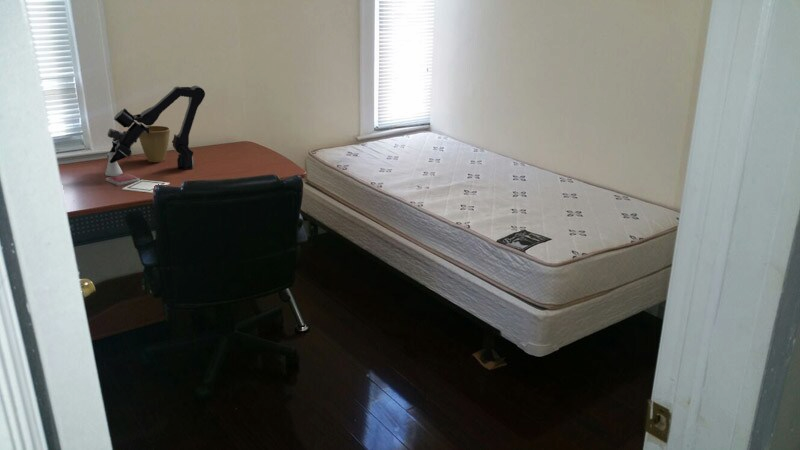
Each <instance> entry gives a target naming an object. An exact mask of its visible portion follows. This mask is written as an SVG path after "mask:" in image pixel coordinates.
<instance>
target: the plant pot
mask: <svg viewBox="0 0 800 450" xmlns="http://www.w3.org/2000/svg"><path fill="white" fill-rule="evenodd" d="M144 126H145V127H149V134H148V133H147V132H145V131H144V133H143V134H142V135H141V136H140V137H139V138H138V139H139V142H140V145H141V148H142V150H143V153H144V155H145V157H146V160H147V161H148V162H149V163H162V162H164V161H165V158H166V156H167V152H168V147H169V141H170V134H171V133H170V132H171V127H169V126H164V125H151V126H147V125H144Z"/></svg>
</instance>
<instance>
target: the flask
mask: <svg viewBox="0 0 800 450" xmlns="http://www.w3.org/2000/svg"><path fill="white" fill-rule="evenodd" d="M109 152H110V151H109ZM109 152H108V153H107V156H109V158H108V161H107V166H106V169H105V173H104V176H107V177H108V176H109V177H114V176H118V175H123V171H122V168H121V167H120V165H119V163H118V161H116V162H114V163H110V160H111V158H112V157H113V155H114V154H115V153H114V152H110V153H109Z"/></svg>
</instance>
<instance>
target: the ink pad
mask: <svg viewBox="0 0 800 450" xmlns="http://www.w3.org/2000/svg"><path fill="white" fill-rule="evenodd" d="M105 181H106V182H108V183H110V184H113V185H116V186H124V185H127V184H128V185H129V184H133V183H135V182H138V181H140V178H139V177H138V176H137V177H136V176H135V175H131V174H129V173H125V174H123V173H122V174H121V175H118V176H109V177H106V178H105Z"/></svg>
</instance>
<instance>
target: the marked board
mask: <svg viewBox="0 0 800 450" xmlns="http://www.w3.org/2000/svg"><path fill="white" fill-rule="evenodd" d="M158 184H159V185H167V186H169V185H170V184H171V183H170V182H165V181H158V180H157V181H156V180H147V179H141V180H140V181H138V182H133V183H130V184H128V185H127V186H124V187H121V188H122V191H132V192H140V193H148V194H149V193H150V194H152V193H154V192H153V189H154V186H155V185H158Z"/></svg>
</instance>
